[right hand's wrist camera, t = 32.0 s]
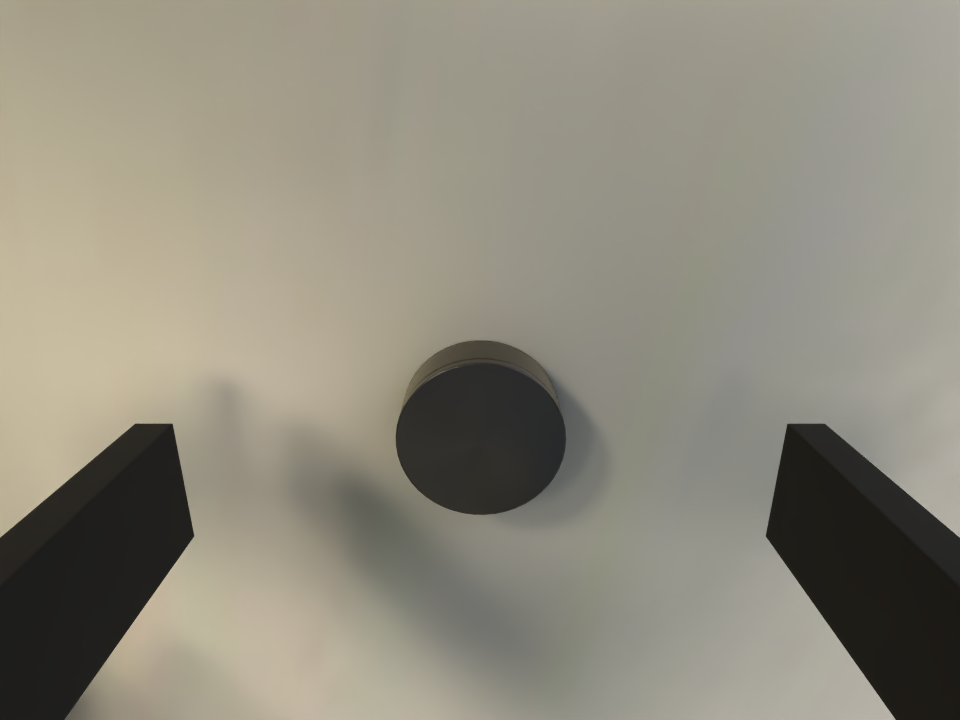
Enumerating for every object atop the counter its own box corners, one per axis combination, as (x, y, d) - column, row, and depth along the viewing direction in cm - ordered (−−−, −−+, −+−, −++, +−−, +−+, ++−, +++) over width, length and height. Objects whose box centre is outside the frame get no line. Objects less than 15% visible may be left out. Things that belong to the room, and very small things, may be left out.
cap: (546, 327, 15) (553, 349, 14) (567, 467, 17) (576, 501, 15) (388, 354, 16) (377, 379, 14) (421, 490, 17) (415, 526, 15)
